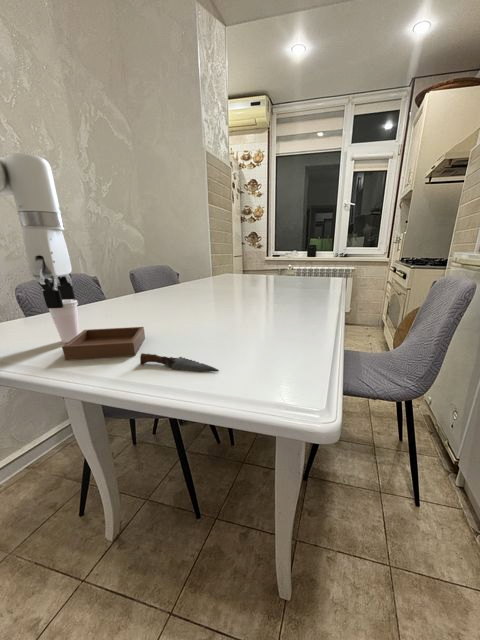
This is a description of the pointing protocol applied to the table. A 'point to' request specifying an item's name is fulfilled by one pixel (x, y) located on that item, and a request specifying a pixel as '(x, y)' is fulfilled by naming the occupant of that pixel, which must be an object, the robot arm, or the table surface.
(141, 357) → the knife
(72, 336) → the smoothie
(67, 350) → the tray
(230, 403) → the table surface
